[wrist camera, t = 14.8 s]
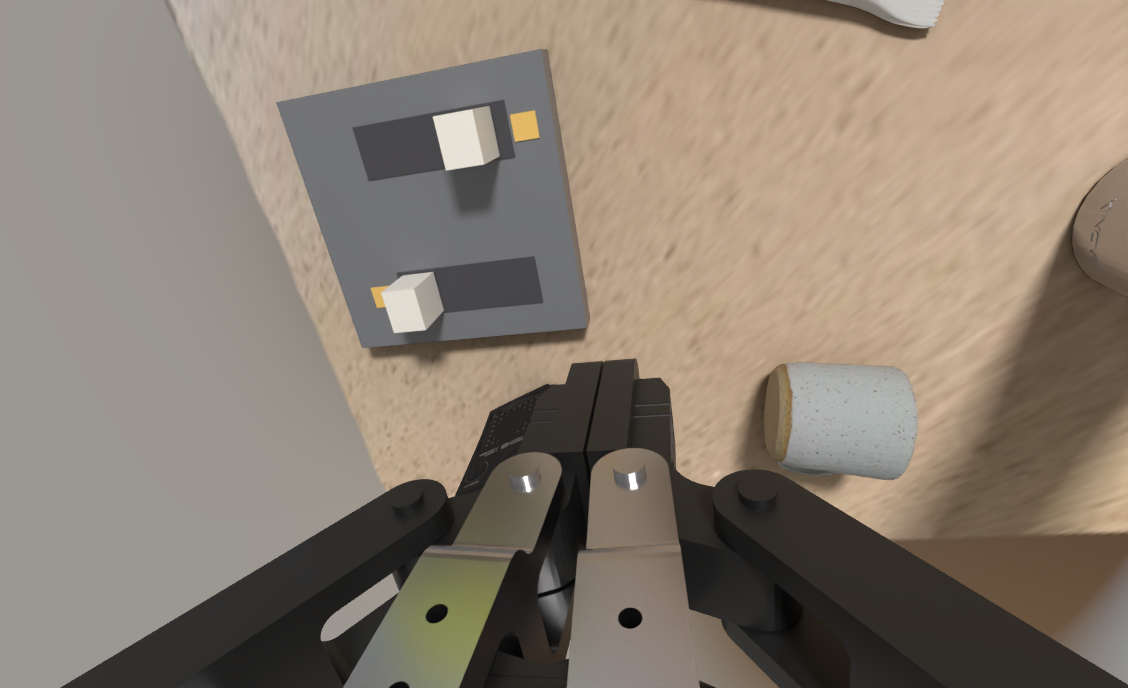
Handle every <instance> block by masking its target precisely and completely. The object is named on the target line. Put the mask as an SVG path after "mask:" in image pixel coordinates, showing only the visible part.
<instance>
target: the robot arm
mask: <svg viewBox="0 0 1128 688" xmlns="http://www.w3.org/2000/svg"><path fill="white" fill-rule="evenodd" d="M1072 246H1073V252H1074V256H1075V258H1076V260H1077V262H1078V264H1079V266H1080V268H1081V269H1082V270H1083V271H1084V272H1085V273H1086V274H1087V275H1088V276H1089V277H1090V278H1092V279H1093V280H1095V281H1097V282H1099V283H1100V284H1102V285H1104V286H1106V287H1108V288H1110V289H1112V290H1114V291H1117V292H1119V293H1121V294H1123V295H1125V296H1127V297H1128V158H1127V159H1126V160H1124V161H1123V162H1121V163H1120V164H1118V165H1117V166H1115V167H1114V168H1113V169H1112V170H1111V171H1110V172H1109V173H1108V174H1106V175H1105V176H1104V177H1103V178H1102V179H1101V180H1100V181H1099V182H1098V183H1097V185H1096V186H1095V187H1094V188H1093V189H1092V191H1091V192H1090V193H1089V194H1088V195H1087V197H1086V199H1085V201H1084V202H1083V204H1082V206H1081V208H1080V209H1079V211H1078V214H1077V217H1076V220H1075V223H1074V226H1073V234H1072ZM391 573H392V574H393V576H394V579H395V582H396V584H397V587H398V589H399V591H400V592H399V593H398V594H396V595H395V596H394V597H392V598H391V599H389V600H388V601H386V602H385V603H384V604H382V605H381V606H380V607H378V608H377V609H375V610H374V611H373V612H371V613H370V614H369V615H367V616H366V617H364V618H363V619H362V620H360V621H359V622H358V623H356V624H355V625H353V626H352V627H351V628H349V629H348V630H346V631H345V632H344V633H342V634H341V635H339V636H338V637H336V638H335V639H332V640H330V641H323V642H322V641H321V638H320V636H321V631H322V628H323V626H324V624H325V623H326V621H327V620H328V619H329V617H330V616H332V615H333V614H334V613H335V612H336V611H338V610H339V609H341V608H342V607H344V606H345V605H346V604H348V603H349V602H351V601H352V600H354V599H355V598H356V597H358V596H359V595H361V594H362V593H364V592H365V591H367V590H368V589H369V588H371V587H372V586H374V585H375V584H377V583H378V582H380V581H381V580H382V579H384V578H385V577H387V576H388V575H390V574H391ZM689 609H691V610H694V611H697V612H700V613H703V614H707V615H710V616H713V617H716V618H719V619H721V621H722V625H723V627H724V630H725V631H726V633H727V634H728V636H729V637H730V638H731V639H732V640H733V641H734V642H735V643H736V644H737V645H738V646H739V647H740V648H741V649H742V650H743V651H744V652H745V653H746V654H747V655H748V656H749V657H750V658H751V659H752V660H753V661H754V662H755V663H756V664H757V666H758V667H759V668H760V669H761V670H763V672H765V673H766V675H768V676H769V678H770V679H771V680H772V681H773V682H774V683H775V684H777V686H778V687H779V688H1128V685H1127V684H1126V683H1124V682H1122V681H1121V680H1119V679H1118V678H1116V677H1114V676H1113V675H1111V674H1109V673H1108V672H1106V671H1104V670H1103V669H1101V668H1099V667H1098V666H1096V665H1095V664H1093V663H1091V662H1089V661H1088V660H1086V659H1085V658H1083V657H1081V656H1080V655H1078V654H1076V653H1075V652H1073V651H1071V650H1070V649H1068V648H1066V647H1065V646H1063V645H1062V644H1060V643H1058V642H1057V641H1055V640H1053V639H1052V638H1050V637H1048V636H1047V635H1045V634H1043V633H1042V632H1040V631H1039V630H1037V629H1035V628H1034V627H1032V626H1030V625H1029V624H1027V623H1025V622H1024V621H1022V620H1020V619H1019V618H1017V617H1015V616H1014V615H1012V614H1011V613H1009V612H1007V611H1006V610H1004V609H1002V608H1001V607H999V606H997V605H996V604H994V603H992V602H991V601H989V600H987V599H986V598H984V597H983V596H981V595H979V594H977V593H976V592H974V591H973V590H971V589H969V588H968V587H966V586H964V585H963V584H961V583H959V582H958V581H956V580H954V579H953V578H951V577H950V576H948V575H946V574H945V573H943V572H941V571H940V570H938V569H936V568H935V567H933V566H931V565H930V564H928V563H926V562H925V561H923V560H921V559H920V558H918V557H917V556H915V555H913V554H912V553H910V552H908V551H907V550H905V549H903V548H902V547H900V546H899V545H897V544H895V543H893V542H892V541H890V540H889V539H887V538H885V537H884V536H882V535H880V534H879V533H877V532H875V531H874V530H872V529H871V528H869V527H867V526H866V525H864V524H862V523H861V522H859V521H857V520H856V519H854V518H852V517H851V516H849V515H847V514H846V513H844V512H843V511H841V510H839V509H838V508H836V507H834V506H833V505H831V504H829V503H828V502H826V501H824V500H823V499H821V498H819V497H818V496H816V495H815V494H813V493H811V492H810V491H808V490H806V489H805V488H803V487H801V486H800V485H798V484H796V483H795V482H793V481H791V480H790V479H788V478H786V477H784V476H782V475H780V474H777V473H774V472H770V471H765V470H743V471H738V472H734V473H731V474H729V475H727V476H725V477H724V478H722V479H721V480H720V481H719V482H718V483H717V484H716V486H715V487H711V486H707V485H702V484H698V483H696V482H693V481H691V480H689V479H687V478H685V477H684V476H682V475H681V474H680V473H679V472H678V471H677V470H676V453H675V437H674V427H673V417H672V408H671V398H670V389H669V388H668V386H667V385H666V384H665V383H664V382H663V381H662V379H661V378H649V379H640V378H639V370H638V364H637V360H636V359H623V360H610V361H605V362H603V361H598V362H585V363H573V364H572V365H571V368H570V371H569V374H568V378H567V381H566V384H562V385H551V386H550V387H549V388H548V389H547V390H546V391H545V392H544V393H543V394H542V395H541V396H540V397H539V398H538V401H537V403H536V406H535V409H534V413H533V414H532V416H531V419H530V424H528V427H527V429H526V432H525V435H524V437H523V440H522V443H521V445H520V448H519V450H518V453H517V455H516V456H513V457H511V458H509V459H507V460H505V461H503V462H502V463H500V464H499V465H498V466H497V467H496V468H495V469H494V470H493V471H492V473H491V474H490V476H489V478H488V480H487V482H486V484H485V485H484V487H483V489H481V490H478V491H475V492H471V493H467V494H463V495H459V496H456V497H452V498H448V496H447V493H446V490H445V488H444V486H443V485H442V484H441V483H439V482H437V481H434V480H429V479H420V480H413V481H409V482H406V483H403V484H401V485H398V486H396V487H394V488H393V489H391V490H389V491H387V492H386V493H384V494H382V495H381V496H379V497H377V498H376V499H374V500H372V501H371V502H369V503H367V504H366V505H364V506H362V507H361V508H360V509H358V510H356V511H354V512H352V513H351V514H349V515H348V516H346V517H344V518H342V519H341V520H339V521H338V522H336V523H334V524H333V525H331V526H329V527H328V528H326V529H324V530H322V531H321V532H319V533H318V534H316V535H314V536H312V537H311V538H309V539H307V540H306V541H304V542H302V543H301V544H299V545H298V546H296V547H294V548H293V549H291V550H289V551H287V552H286V553H284V554H282V555H281V556H279V557H278V558H276V559H274V560H273V561H271V562H269V563H267V564H266V565H264V566H263V567H261V568H259V569H258V570H256V571H254V572H252V573H251V574H250V575H247V576H246V577H244V578H242V579H241V580H239V581H237V582H236V583H234V584H232V585H231V586H229V587H228V588H226V589H224V590H222V591H221V592H219V593H217V594H216V595H214V596H212V597H211V598H209V599H207V600H206V601H204V602H202V603H201V604H199V605H197V606H196V607H194V608H193V609H191V610H189V611H188V612H186V613H184V614H182V615H181V616H179V617H178V618H176V619H174V620H172V621H171V622H169V623H167V624H166V625H164V626H162V627H161V628H159V629H158V630H156V631H154V632H152V633H151V634H149V635H148V636H146V637H144V638H142V639H141V640H139V641H137V642H136V643H134V644H132V645H131V646H129V647H128V648H126V649H124V650H122V651H121V652H119V653H118V654H116V655H114V656H113V657H111V658H109V659H108V660H106V661H104V662H102V663H101V664H99V665H97V666H96V667H94V668H93V669H91V670H89V671H88V672H86V673H84V674H82V675H81V676H79V677H77V678H76V679H74V680H72V681H71V682H70V683H68V684H66V685H64V686H62V687H61V688H715V687H713V686H711V685H708V684H706V683H704V682H702V681H699V678H698V671H697V663H696V656H695V649H694V642H693V634H692V627H691V620H690V613H689ZM570 639H571V643H570ZM569 643H570V655H569V659H566V655H567V651H568V647H569Z"/></svg>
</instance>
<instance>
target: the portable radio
mask: <svg viewBox="0 0 1128 688" xmlns="http://www.w3.org/2000/svg"><path fill="white" fill-rule="evenodd" d="M550 386H551V385H549V384H546V385H544V386H542V387H539V388H537V389H535V390H533V391H531V392H529V393H527V394H525V395H523V396H520V397H518V398H516V399H514V400H512V401H510V402H508V403H506V404H504V405H502V406H500V407H498V408H496V409H494V410H492V411H490V414H489V417H488V419H487V422H486V425H485V427H484V430H483V433H482V435H481V437H480V440H479V442H478V445H477V447H476V449H475V452H474V454H473V456H472V459H471V461H470V463H469V465H468V468H467V470H466V472H465V474H464V477H463V479H462V481H461V483H460V486H459V488H458V490H457V492H456V495H455V497H456V496H459V495H463V494H467V493H471V492H475V491H478V490H481V489H483V487H484V485H485V484H486V482H487V480H488V478H489V476H490V474H491V473H492V471H493V470H494V469H495V468H496V467H497V466H498V465H499V464H500V463H502V462H503V461H505V460H507V459H509V458H511V457H513V456H516V455H517V453H518V450H519V448H520V445H521V443H522V440H523V437H524V435H525V432H526V429H527V427H528V424H530V419H531V416H532V414H533V413H534V409H535V406H536V403H537V401H538V398H539V397H540V396H541V395H542V394H543V393H544V392H545V391H546V390H547V389H548V388H549V387H550Z"/></svg>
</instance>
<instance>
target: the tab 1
mask: <svg viewBox="0 0 1128 688" xmlns="http://www.w3.org/2000/svg"><path fill="white" fill-rule="evenodd" d="M381 294H382V297H383V300H384V304H385V307H386V310H387V313H388V316H389V319H390V322H391V325H392V328H393V332H394V333H401V332H411V331H422V330H427V328H428V327H429V326H430V325H431V324H432V323H433V322H434V321H435V320H436V319H437V318H438V316H439V315H440V314H441V313H442V312H443V311H444V309H443V305H442V302H441V298H440V294H439V291H438V287H437V284H436V280H435V276H434V273H433V272H428V273H419V274H411V275H403V276H401V277H400V278H399V279H398V280H396V281H395V282H394V283H392V284H391V285H390V286H389V287H387V288H386V289H385V290H384V291H382V292H381Z"/></svg>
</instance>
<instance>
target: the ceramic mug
mask: <svg viewBox="0 0 1128 688" xmlns="http://www.w3.org/2000/svg"><path fill="white" fill-rule="evenodd" d="M917 427H918V415H917V409H916V399H915V394H914V392H913V389H912V386H911V384H910V382H909V379H908V378H907V376H906V374H905V373H904V372H903V371H902V370H900V369H898V368H896V367H893V366H869V365H849V364H822V363H812V362H797V363H787V364H781V365H779V366H777V367H776V368H775V369H774V370H773V371H772V373H771V374H770V377H769V381H768V385H767V390H766V396H765V407H764V438H765V445H766V448H767V452H768V453H769V455H770V456H771V457H772V459H774V460H775V461H776V462H777V463H778V464H779V465H780V466H781V467H783V468H784V469H786V470H789V471H792V472H795V473H799V474H804V475H812V476H825V475H833V474H838V473H842V474H848V475H856V476H862V477H869V478H876V479H882V480H894V479H897V478H899V477H900V476H901V475H902V474H903V473H904V472H905V471H906V469H907V467H908V465H909V463H910V460H911V458H912V455H913V451H914V446H915V441H916V436H917Z"/></svg>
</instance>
